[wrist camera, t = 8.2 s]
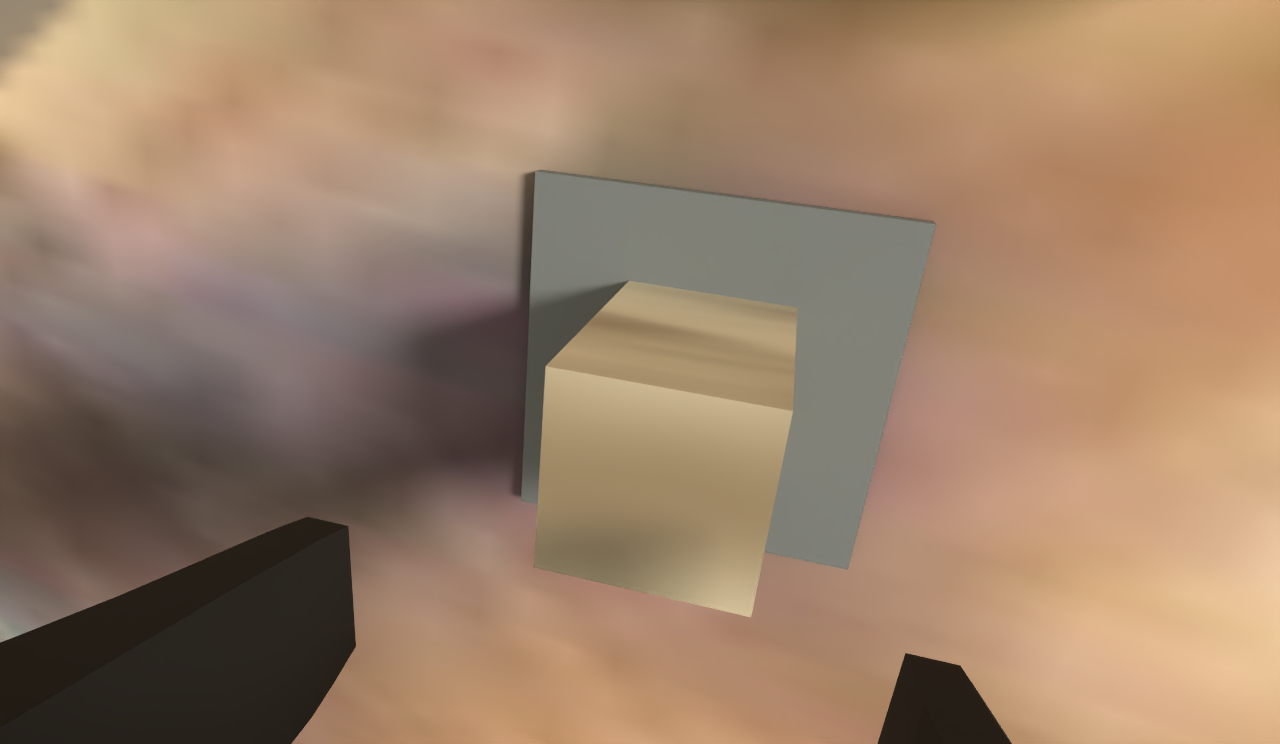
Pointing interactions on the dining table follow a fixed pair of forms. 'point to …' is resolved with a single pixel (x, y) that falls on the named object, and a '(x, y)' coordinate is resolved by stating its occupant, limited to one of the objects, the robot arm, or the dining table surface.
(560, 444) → the birch block
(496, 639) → the dining table surface
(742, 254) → the rubber mat
